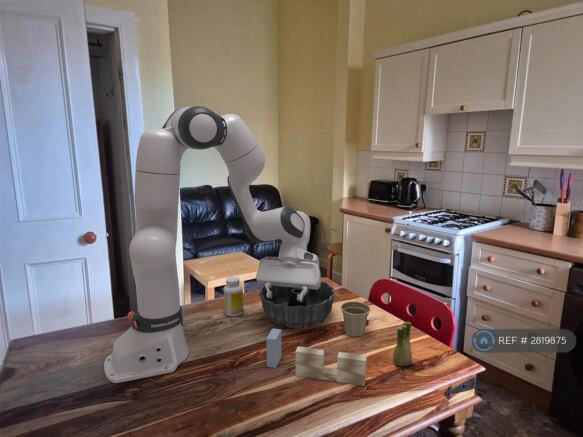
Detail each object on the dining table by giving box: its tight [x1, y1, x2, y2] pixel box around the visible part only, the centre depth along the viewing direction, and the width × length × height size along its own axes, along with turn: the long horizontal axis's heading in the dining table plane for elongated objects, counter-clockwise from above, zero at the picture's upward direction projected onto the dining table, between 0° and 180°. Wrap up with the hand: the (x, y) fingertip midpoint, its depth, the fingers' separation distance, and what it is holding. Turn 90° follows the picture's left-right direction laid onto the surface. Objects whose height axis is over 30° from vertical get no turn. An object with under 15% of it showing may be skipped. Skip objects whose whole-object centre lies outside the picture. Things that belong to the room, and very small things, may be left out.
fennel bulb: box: [392, 321, 413, 367], centre depth 104 cm, size 6×5×12 cm
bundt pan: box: [258, 280, 336, 329], centre depth 132 cm, size 26×26×10 cm
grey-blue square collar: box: [265, 328, 282, 369], centre depth 105 cm, size 6×3×8 cm, turn 166°
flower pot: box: [340, 300, 371, 337], centre depth 121 cm, size 9×9×9 cm
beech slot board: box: [295, 346, 367, 387], centre depth 98 cm, size 18×2×7 cm, turn 76°
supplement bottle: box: [223, 276, 244, 317], centre depth 134 cm, size 7×7×13 cm
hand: (284, 299), depth 113 cm, fingers open, 8 cm apart
